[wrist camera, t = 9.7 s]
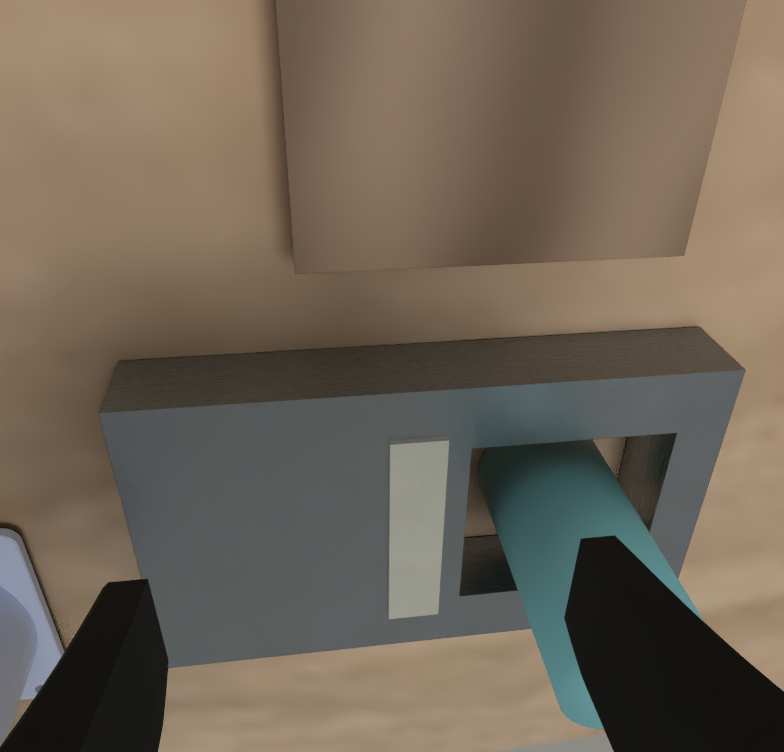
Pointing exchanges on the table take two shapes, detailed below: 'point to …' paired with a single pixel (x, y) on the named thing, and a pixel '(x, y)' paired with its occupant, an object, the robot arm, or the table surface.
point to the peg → (561, 542)
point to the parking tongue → (497, 128)
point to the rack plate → (384, 477)
